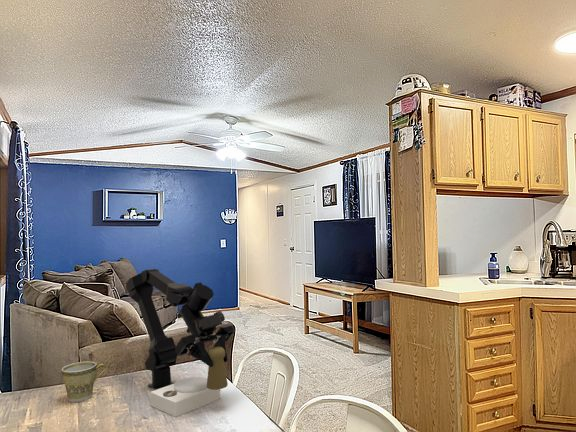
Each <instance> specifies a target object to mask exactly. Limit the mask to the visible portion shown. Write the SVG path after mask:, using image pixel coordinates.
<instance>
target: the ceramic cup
mask: <svg viewBox="0 0 576 432" xmlns="http://www.w3.org/2000/svg"><path fill="white" fill-rule="evenodd" d="M100 366H103V369H102V370H101V371H100V372H99V374H98V375H97V376H96V373H97V370H98V369H99V367H100ZM105 370H106V364H105V363H101V362H99V363H97V362H94V361H79V362H73V363H71V364H67V365H65V366H63V367H62V368H61V375H62V379H63V382H64V387H65V391H66V397H67V400H68V401H69V402H70V403H81V402H84V401H87V400H89V399H91V398H92V397H93V391H94V384H95V383H96V381H97V380H98V378H99V377H100V376H101V374H103V373H104V372H105Z"/></svg>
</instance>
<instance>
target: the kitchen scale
mask: <svg viewBox="0 0 576 432" xmlns="http://www.w3.org/2000/svg"><path fill="white" fill-rule="evenodd" d="M207 378H208V377H203V376H202V377H201V376H191V377H186V378H182V379H180V380H178V381H176V382H174V384H171V385H169V386H166V387H163V388H160V389H157V390H156V389H154V390H152V391H150V393H149V397H150V406H151V407H153V408H155V409H157V410H159V411H162V412H163V413H167V414H168V415H170V416H173V417H175V418H177V417H180V416H182V415H185V414H186V413H189V412H192V411H194V410H196V409H198V408H201V407H203V406H206V405H208V404H210V403H212V402H215V401H218V400H220V399H221V389H218V390H212V389H208V388H207Z"/></svg>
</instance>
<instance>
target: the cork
mask: <svg viewBox="0 0 576 432" xmlns="http://www.w3.org/2000/svg"><path fill="white" fill-rule="evenodd" d="M206 351H207V353H208V355H209V356H210V358H211V360H212V363H213V366H212V367H210V366H208V370H207V377H206V378H207V388H208V389H212V390H218V389H220V390H222V389H225V388H227V387H228V384H229V383H228V378H227V372H226V367H225V362H224V359H223V358H224V357H225V350H224V348H222V347H213V346H212V347H210V348H208V350H206Z"/></svg>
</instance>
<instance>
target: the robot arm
mask: <svg viewBox="0 0 576 432" xmlns="http://www.w3.org/2000/svg"><path fill="white" fill-rule="evenodd" d="M154 288H155V289H156V290H158V291H160V292H161V293H162V294H164V295H165V300H166V301H167V302H168V304H169V305H171V307H181V306H182V307H181V308H180V309H178V312H177V315H176V317H177V319H182V320H183V321H184V324H185V326H186V327H187V329H186V331H185V332H186V333H187V334H190V335H186V336H183V337H181V338H180V339H179V341H178V342H177V344H175V341H174V338H173V337H172V336H170V337H168V336H167V335H166V334H165V331H164V328H163V325H162V323H161V320H160V317H159V314H158V311H157V309H156V305H155V303H154V300H153V297H152V296H153V293H154ZM125 289H126V291H127V293H128V295H129V297H130V298H131V300H133V301H134V302H135V303H137V305H138V309H139V311H140V313H141V314H140V315H141V317H142V320H143V323H144V326H145V328H146V332H147V335H148V337H149V340H150V343H149V348H148V353H149V356H148V357H147V358H146V360H145V362H144V366H145V369H146V370H148V371H150V372H151V383H149V384H147V387H148V388H151V389H154V390H157V389H160V388H163V387H166V386H169V385H171V384H174V383H175V382H173V381H172V373H171V366H175V365H176V363H177V360H178V359H177V358H178V357H182V356H185V355H187V356H192V357H193V358H195V359H197V360H199V361H201V362H202V363H203V364H205V365H207V366H208V367H209V366H210V367H212V366H213V363H212V360H211V358H210V356H209V355H208V353H207V351H208V350H207V349H206V348H205V347H206V346H205V344H206V343H209V342H213V344H214V345H213V346H212V347H222V348H224V350H225V357H224V358H223V359H224V363H227V362H228V353H227V348H226V347H227V346H226V343H227V342H228V341H229V340H230V339H231V337H232V336H233V335H234V333H235V332H236V329H235V328H234V326H233V325H231V324H228V325H224V326H221V327H219V329H218V330H217V332H216V329H217V327H218V326H219V325H223V322H225V319H226V318H225V315H224V313H223V312H222V310H219V311H216V312H213V314H211V315H208V316H207V315H205V316H204V314H203V312H202V311H204V310H205V309H206V308H207V306H208V305H209V304H210V301H211V300H212V299H213V297H214V291H213V289H212V288H210V287H209V286H207V285H206V284H205V285H204V284H203V283H202V282H195V283H194V285H193V288H192V286H190V285H188V284H184V283H178V282H175V281H174V280H172V279H171V278H169V277H168V276H167V275H164V274H163V273H161V272H160V270H158V269H157V268H149V269H143V270H142V271H141V272H140V273H138V274H136V275H134V276H131V277H130V278H129V279H128V280H127V281H126V283H125ZM188 351H189V352H188Z"/></svg>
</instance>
